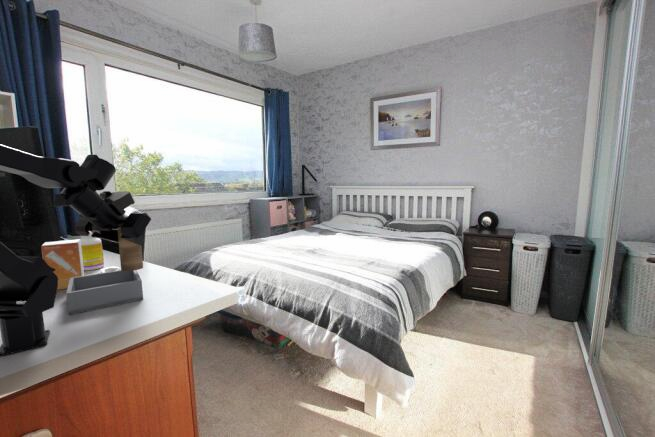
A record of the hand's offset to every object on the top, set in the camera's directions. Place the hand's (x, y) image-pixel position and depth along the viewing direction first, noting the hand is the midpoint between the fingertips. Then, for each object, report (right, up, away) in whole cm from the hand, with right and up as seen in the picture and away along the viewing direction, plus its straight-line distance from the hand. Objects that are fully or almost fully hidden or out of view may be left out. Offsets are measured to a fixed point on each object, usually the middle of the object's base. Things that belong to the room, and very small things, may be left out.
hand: (134, 243), depth 84 cm
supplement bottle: (-30, -11, +25) cm, 41 cm away
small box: (-23, -13, +6) cm, 28 cm away
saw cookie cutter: (-19, -12, +18) cm, 29 cm away
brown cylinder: (0, -7, -1) cm, 7 cm away
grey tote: (-5, -14, -3) cm, 15 cm away
